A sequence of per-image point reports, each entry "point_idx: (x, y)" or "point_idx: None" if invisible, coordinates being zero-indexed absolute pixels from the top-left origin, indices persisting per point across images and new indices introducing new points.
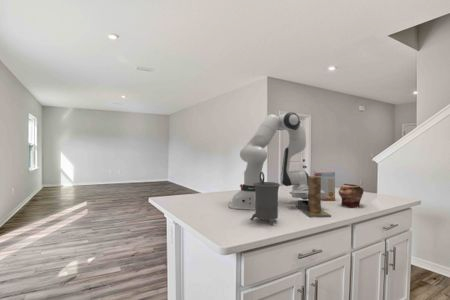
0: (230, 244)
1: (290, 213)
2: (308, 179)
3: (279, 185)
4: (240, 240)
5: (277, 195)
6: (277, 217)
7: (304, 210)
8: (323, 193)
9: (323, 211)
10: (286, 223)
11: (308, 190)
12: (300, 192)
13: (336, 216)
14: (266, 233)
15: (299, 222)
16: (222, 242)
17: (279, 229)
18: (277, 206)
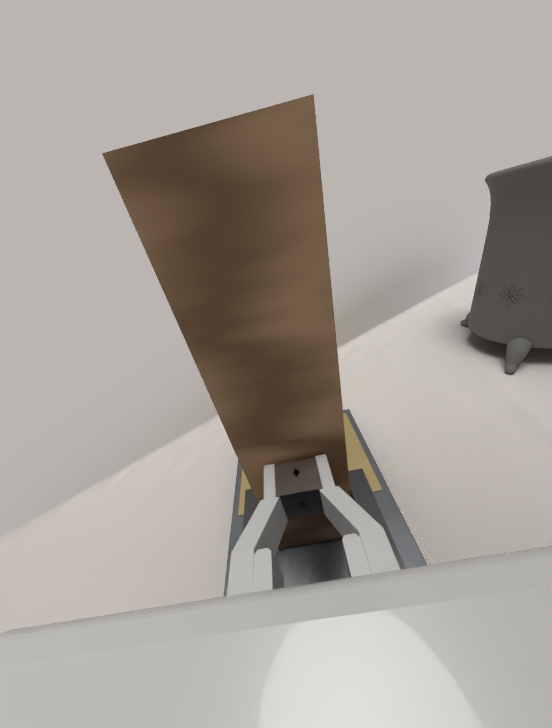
0: None
1: (486, 465)
2: (321, 200)
3: (486, 179)
4: None
5: (488, 233)
6: (468, 326)
7: (386, 514)
8: (34, 628)
9: (243, 500)
10: (428, 345)
11: (339, 390)
12: (526, 551)
13: (209, 455)
14: (447, 302)
15: (385, 361)
16: None
17: (428, 318)
18: (477, 284)
